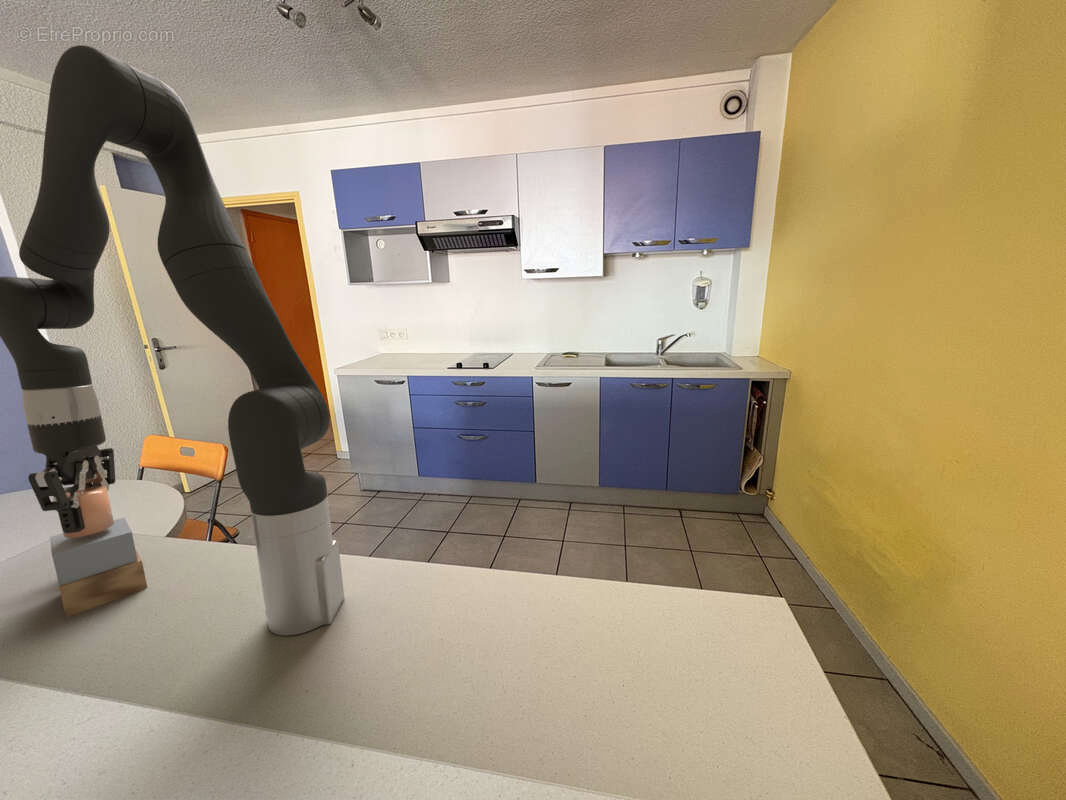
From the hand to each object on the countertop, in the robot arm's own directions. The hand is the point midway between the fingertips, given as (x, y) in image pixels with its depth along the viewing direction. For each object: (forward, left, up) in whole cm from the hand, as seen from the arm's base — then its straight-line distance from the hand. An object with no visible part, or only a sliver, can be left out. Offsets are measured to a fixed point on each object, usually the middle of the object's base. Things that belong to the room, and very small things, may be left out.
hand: (88, 522), depth 66 cm
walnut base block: (0, 0, -12) cm, 12 cm away
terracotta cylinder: (0, 0, -1) cm, 1 cm away
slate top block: (0, 0, -7) cm, 7 cm away
